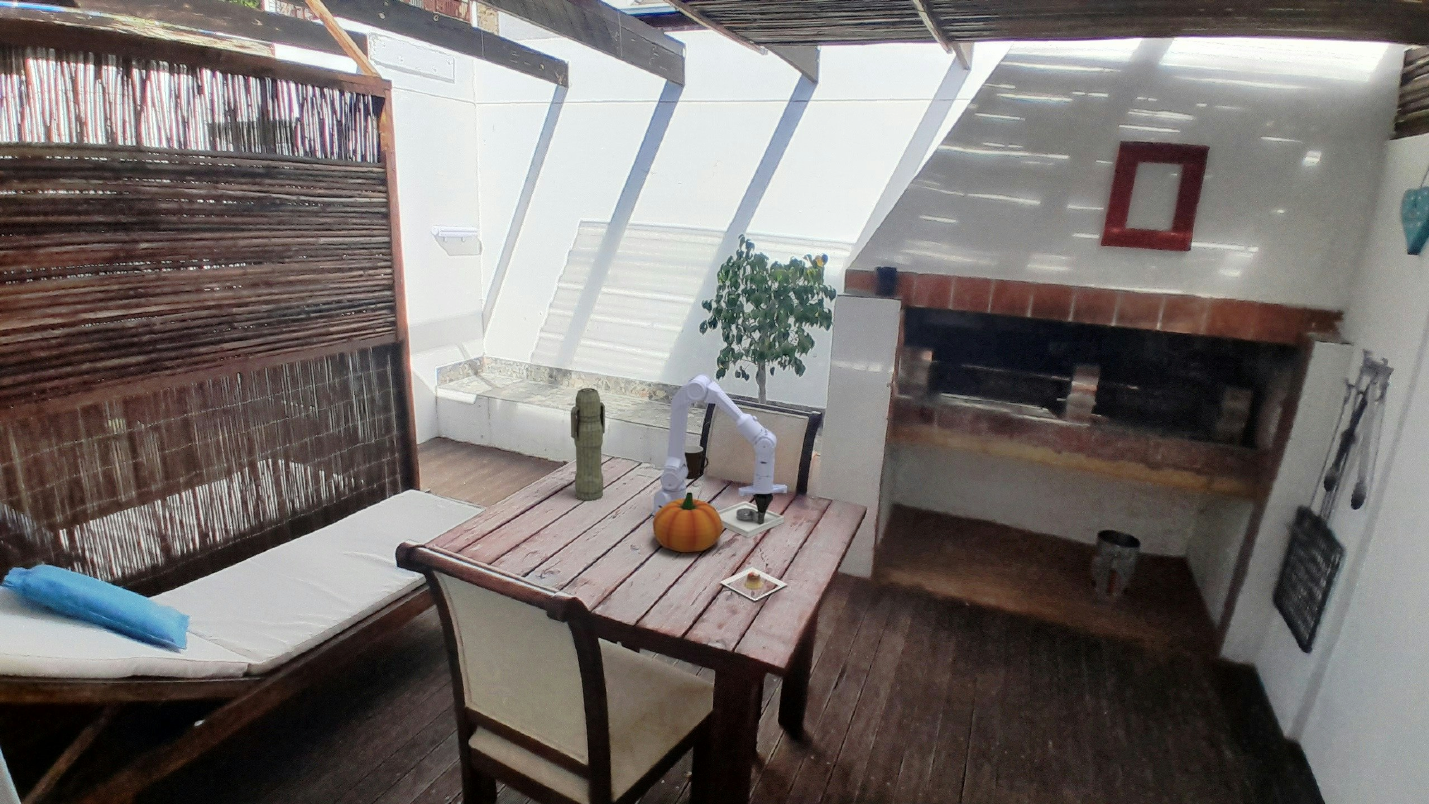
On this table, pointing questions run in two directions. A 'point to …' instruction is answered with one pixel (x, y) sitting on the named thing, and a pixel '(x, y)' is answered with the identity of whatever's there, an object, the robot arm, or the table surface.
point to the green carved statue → (588, 443)
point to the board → (744, 526)
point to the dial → (750, 515)
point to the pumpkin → (687, 525)
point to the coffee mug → (694, 460)
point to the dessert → (753, 581)
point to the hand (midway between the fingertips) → (761, 516)
